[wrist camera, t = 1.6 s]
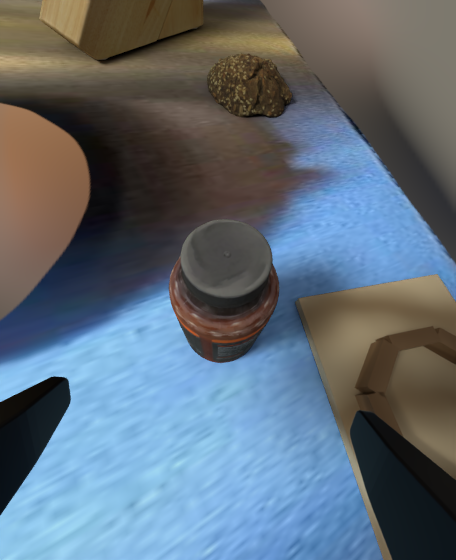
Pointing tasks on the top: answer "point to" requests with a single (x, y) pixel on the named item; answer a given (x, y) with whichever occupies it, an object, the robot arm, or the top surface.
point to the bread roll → (248, 86)
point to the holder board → (410, 370)
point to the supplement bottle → (224, 289)
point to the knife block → (119, 22)
